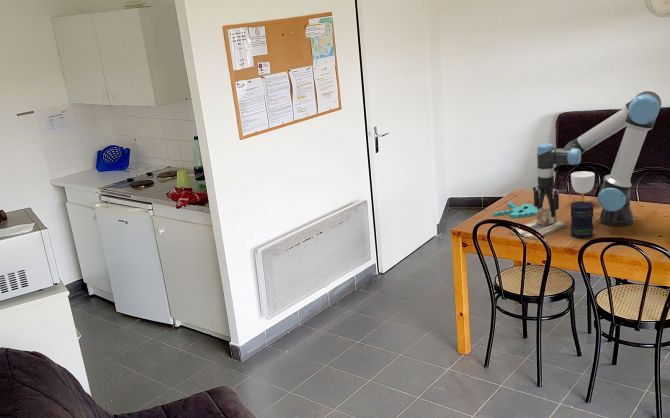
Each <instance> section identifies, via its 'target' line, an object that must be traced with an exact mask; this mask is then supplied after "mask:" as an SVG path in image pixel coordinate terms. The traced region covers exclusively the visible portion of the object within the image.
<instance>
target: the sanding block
mask: <svg viewBox="0 0 670 418" xmlns="http://www.w3.org/2000/svg"><path fill="white" fill-rule="evenodd" d="M543 208H544V209H542V210H539V211H537V212H536V216H535V217H536V218H535V220H536V221H537V225H542V226H547V225H549V211H550V206H546V207H543ZM556 221H557V210H555V217H554V222H556Z"/></svg>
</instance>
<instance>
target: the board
mask: <svg viewBox="0 0 670 418" xmlns="http://www.w3.org/2000/svg"><path fill="white" fill-rule="evenodd" d="M524 225H526V226H529V227H531V228H533V229H535V230H536V231H538V232H539V233H541V234H542V235H543V236H544V237H546V236H548V235H550V234H551V233H554V232H556V231H559V230H561V229H563V228H566V227H567V223H566V222H562V221H557V220H556V222H554V223H552V224H549V225H547V226H542V225H537V221H536V219H534V220H532V221H529V222H527V223H525V224H524ZM514 229H516V230H517V231H518V232H519V233H520V234H521V235H522V236H524V237H523V238H525V237H529V238H536V237H535V236H534V235H532V234H530V233H528V232H526V231H524V230H521V229H518V227H516V228H514ZM508 234H509V235H512V234H514V235H513V236H516V235H515V233H514V232H513V231H511V230H509V233H508ZM529 238H528V239H529Z"/></svg>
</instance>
